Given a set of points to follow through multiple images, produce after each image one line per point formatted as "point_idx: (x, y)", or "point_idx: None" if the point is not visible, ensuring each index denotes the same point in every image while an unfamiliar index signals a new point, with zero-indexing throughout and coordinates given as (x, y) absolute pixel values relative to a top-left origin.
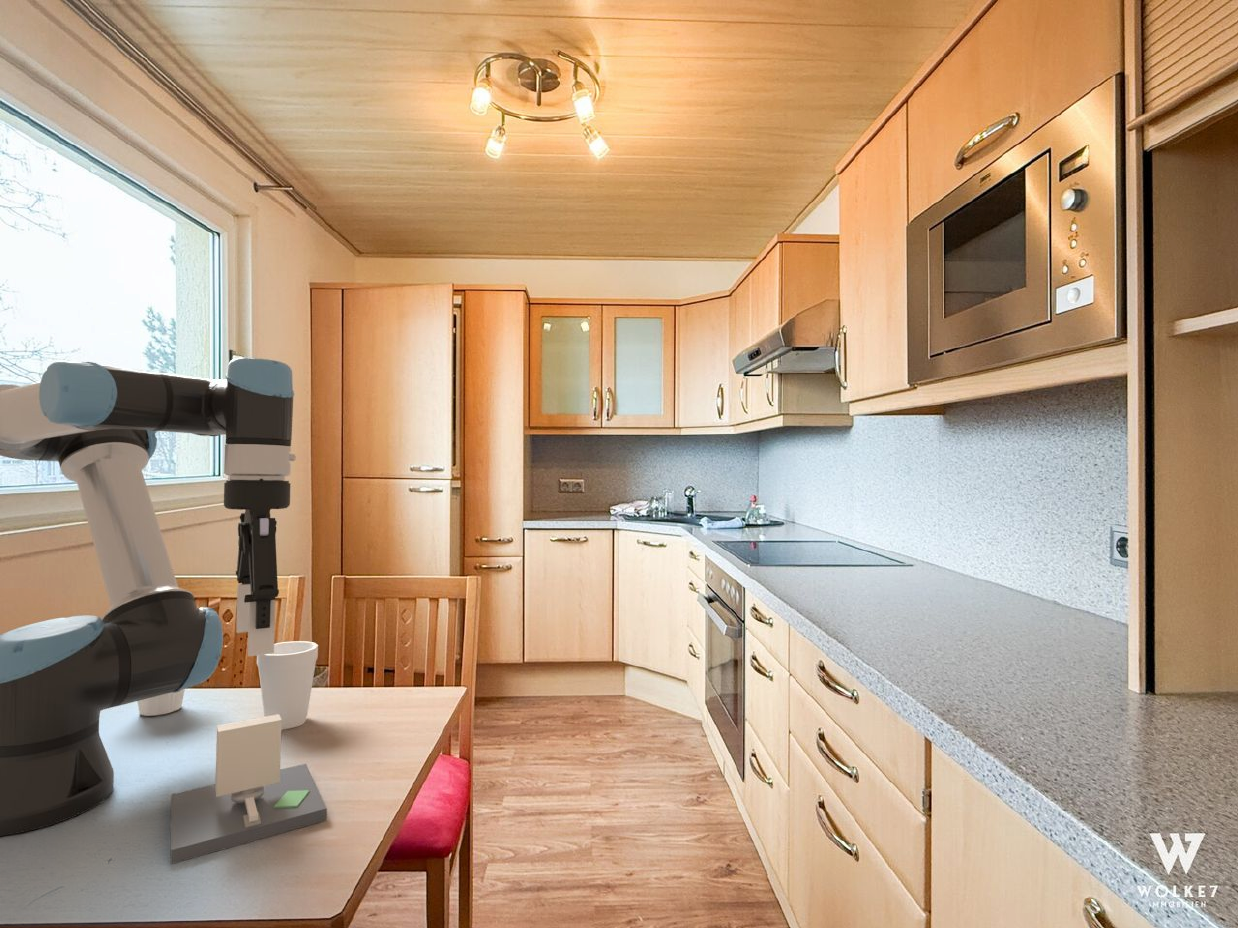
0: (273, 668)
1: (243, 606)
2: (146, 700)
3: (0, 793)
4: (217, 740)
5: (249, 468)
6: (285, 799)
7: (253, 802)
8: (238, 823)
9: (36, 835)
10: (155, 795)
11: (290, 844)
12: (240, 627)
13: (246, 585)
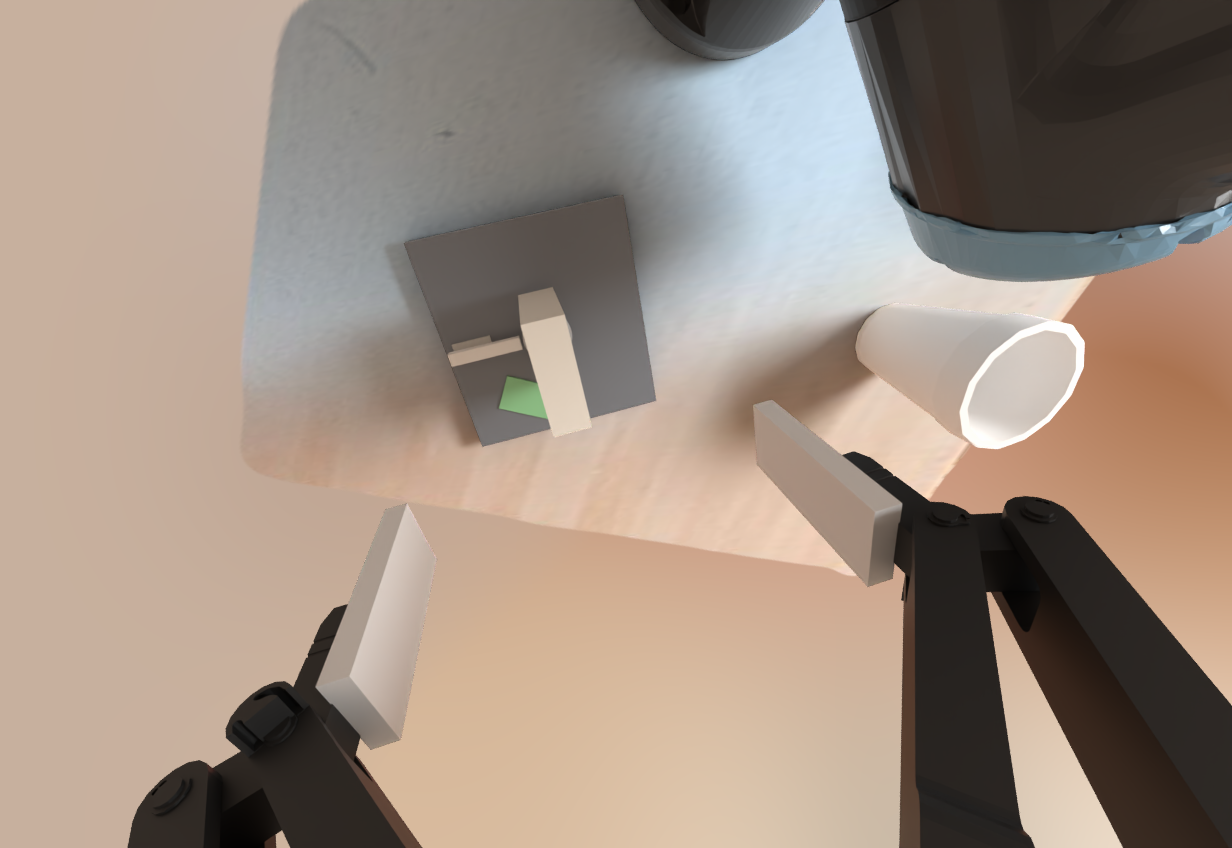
0: (952, 356)
1: (805, 471)
2: None
3: None
4: (529, 317)
5: None
6: (526, 389)
7: (499, 352)
8: (469, 331)
9: None
10: (674, 155)
11: (425, 401)
12: (762, 423)
13: (870, 538)
